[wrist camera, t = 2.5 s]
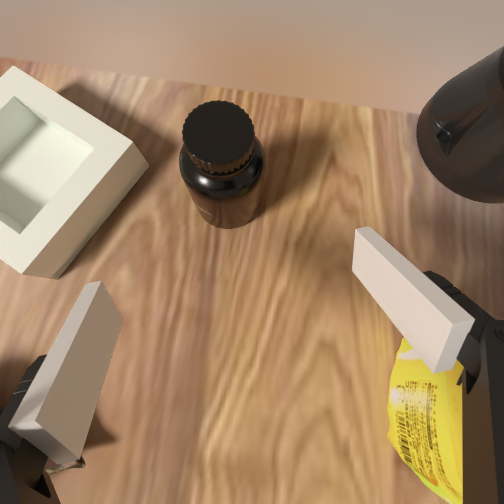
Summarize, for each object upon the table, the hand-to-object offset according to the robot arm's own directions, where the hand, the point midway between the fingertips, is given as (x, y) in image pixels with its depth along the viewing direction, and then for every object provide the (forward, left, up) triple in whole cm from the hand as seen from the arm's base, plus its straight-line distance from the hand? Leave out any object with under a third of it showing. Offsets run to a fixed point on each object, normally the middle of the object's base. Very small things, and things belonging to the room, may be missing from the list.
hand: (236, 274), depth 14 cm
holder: (+23, +2, -13) cm, 27 cm away
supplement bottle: (+6, -7, -14) cm, 17 cm away
